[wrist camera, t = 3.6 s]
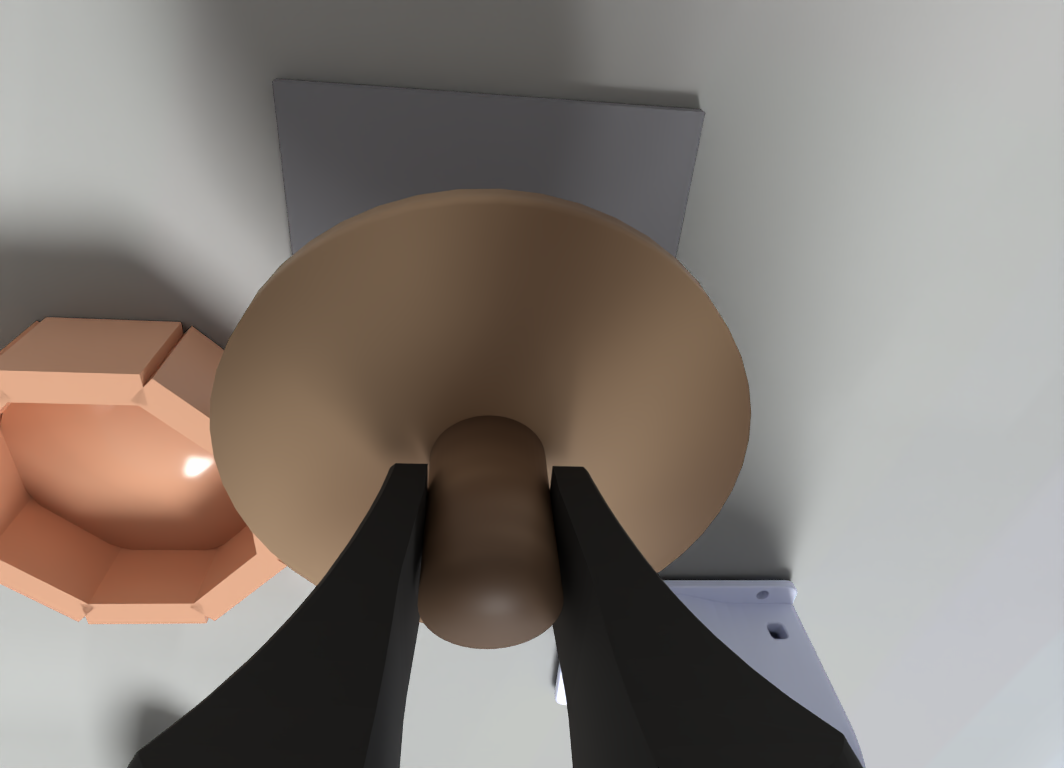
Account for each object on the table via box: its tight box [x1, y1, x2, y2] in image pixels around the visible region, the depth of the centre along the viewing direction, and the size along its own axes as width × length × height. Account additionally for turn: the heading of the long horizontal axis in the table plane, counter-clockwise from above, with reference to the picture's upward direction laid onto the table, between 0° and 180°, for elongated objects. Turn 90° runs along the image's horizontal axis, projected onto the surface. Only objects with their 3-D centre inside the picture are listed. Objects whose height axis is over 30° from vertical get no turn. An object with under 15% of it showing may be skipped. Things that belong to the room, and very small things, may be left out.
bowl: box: [0, 317, 287, 624], centre depth 22 cm, size 10×10×3 cm
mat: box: [272, 79, 705, 258], centre depth 21 cm, size 11×12×1 cm
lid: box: [210, 189, 751, 649], centre depth 13 cm, size 11×11×4 cm
